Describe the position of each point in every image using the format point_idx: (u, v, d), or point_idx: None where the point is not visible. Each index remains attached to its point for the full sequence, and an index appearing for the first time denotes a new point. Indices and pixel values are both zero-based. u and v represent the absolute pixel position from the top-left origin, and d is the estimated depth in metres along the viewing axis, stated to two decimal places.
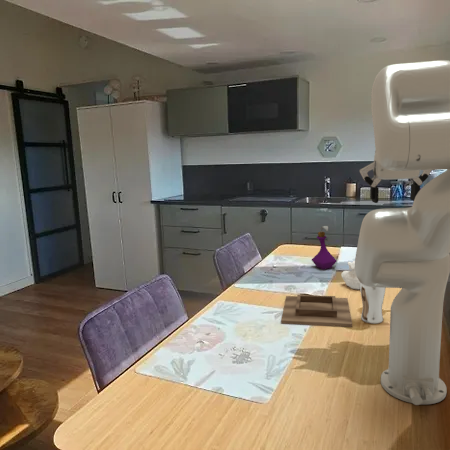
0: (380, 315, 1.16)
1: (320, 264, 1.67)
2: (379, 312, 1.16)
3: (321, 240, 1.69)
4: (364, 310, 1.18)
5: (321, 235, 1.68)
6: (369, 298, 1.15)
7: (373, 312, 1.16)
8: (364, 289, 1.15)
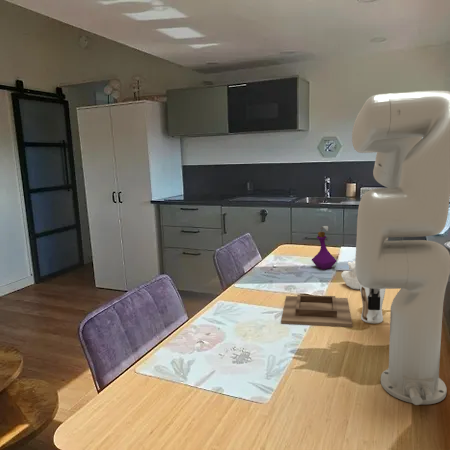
0: (380, 315, 1.16)
1: (320, 264, 1.67)
2: (379, 312, 1.16)
3: (321, 240, 1.69)
4: (364, 310, 1.18)
5: (321, 235, 1.68)
6: None
7: (373, 312, 1.16)
8: (364, 289, 1.15)
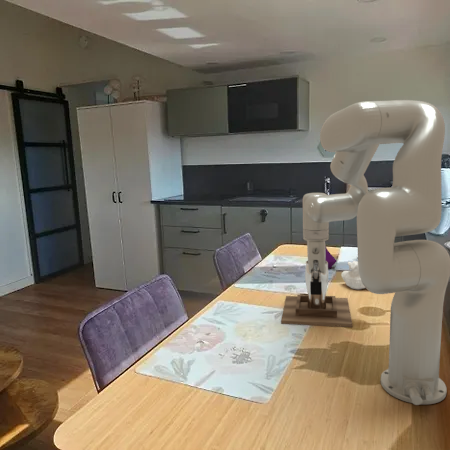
0: (323, 304, 1.23)
1: None
2: (322, 302, 1.23)
3: None
4: (308, 300, 1.25)
5: None
6: None
7: (316, 301, 1.23)
8: (308, 280, 1.22)
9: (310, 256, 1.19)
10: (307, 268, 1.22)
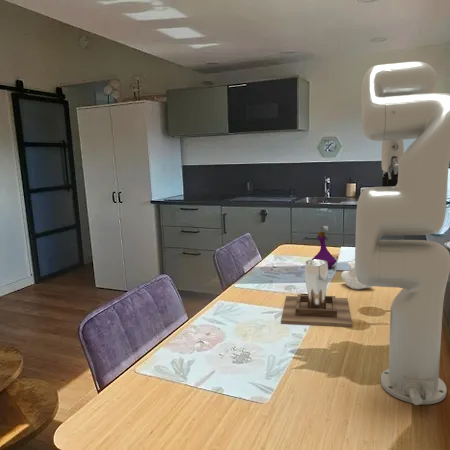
0: (323, 304, 1.23)
1: None
2: (322, 302, 1.23)
3: (321, 240, 1.69)
4: (308, 300, 1.25)
5: (321, 235, 1.68)
6: (312, 288, 1.22)
7: (316, 301, 1.23)
8: (307, 280, 1.22)
9: (388, 153, 1.16)
10: (307, 268, 1.22)
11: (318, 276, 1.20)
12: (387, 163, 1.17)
